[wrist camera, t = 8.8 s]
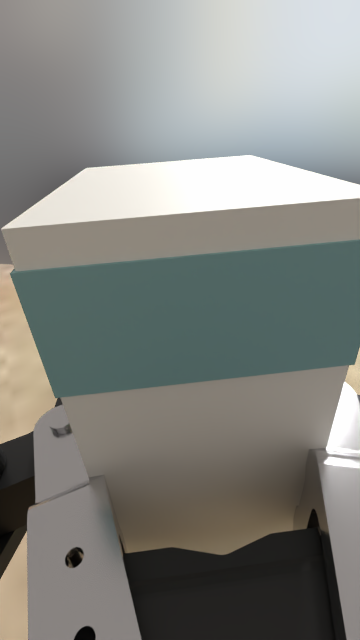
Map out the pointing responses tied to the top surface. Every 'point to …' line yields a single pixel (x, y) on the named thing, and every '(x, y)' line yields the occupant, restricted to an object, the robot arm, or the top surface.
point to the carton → (195, 335)
